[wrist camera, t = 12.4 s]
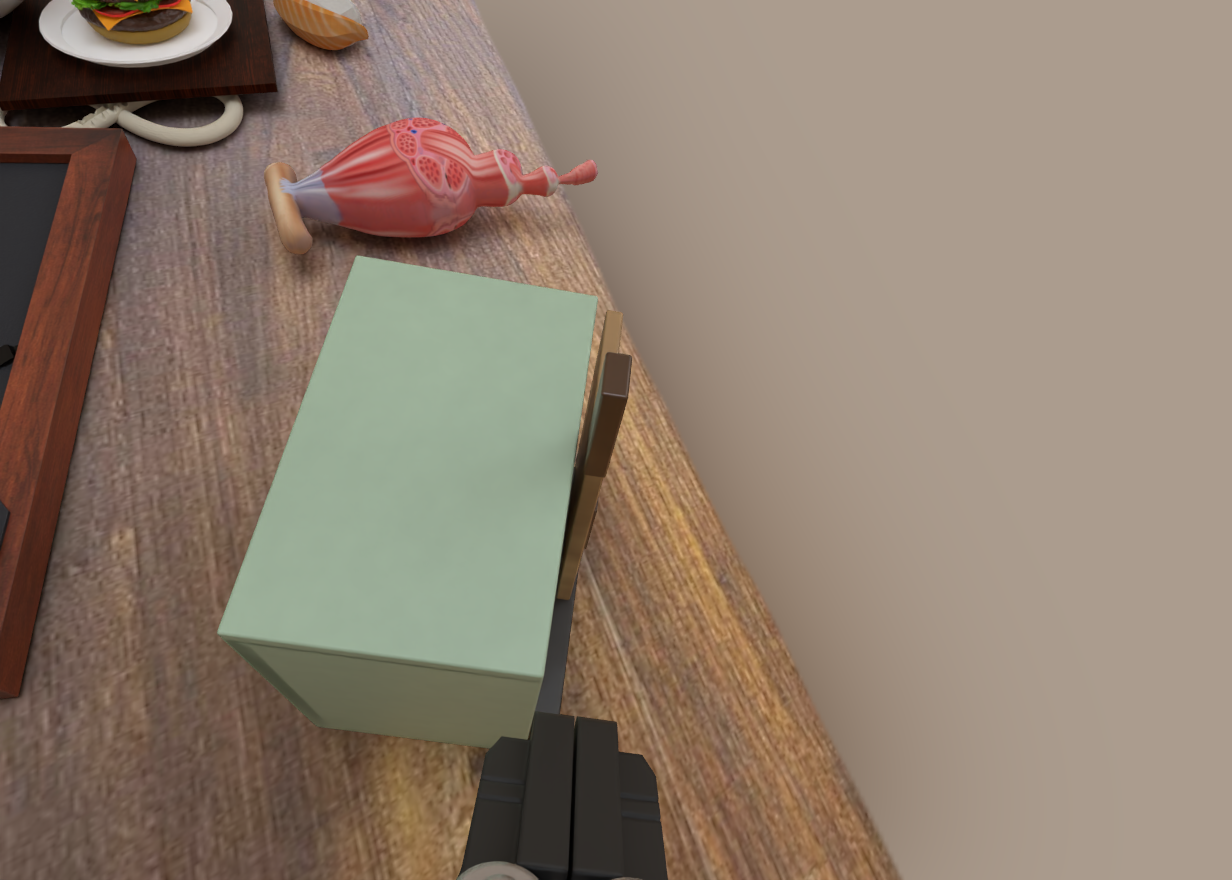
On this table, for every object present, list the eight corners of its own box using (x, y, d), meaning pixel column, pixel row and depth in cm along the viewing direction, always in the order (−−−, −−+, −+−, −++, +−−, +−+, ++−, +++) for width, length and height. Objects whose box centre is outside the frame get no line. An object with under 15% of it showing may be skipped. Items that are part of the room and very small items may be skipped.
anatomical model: (584, 80, 36) (613, 164, 33) (581, 168, 40) (607, 250, 37) (246, 110, 33) (245, 204, 30) (282, 200, 38) (283, 290, 35)
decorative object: (-31, 140, 34) (-15, 71, 37) (-18, 160, 35) (-4, 91, 38) (240, 132, 37) (239, 69, 40) (246, 151, 38) (244, 87, 41)
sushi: (289, -41, 43) (247, -18, 41) (376, 0, 41) (335, 26, 40) (304, 7, 45) (264, 30, 43) (386, 48, 43) (348, 73, 42)
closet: (590, 474, 32) (632, 301, 22) (553, 756, 26) (589, 684, 17) (395, 444, 31) (355, 254, 22) (315, 727, 26) (215, 634, 16)
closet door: (590, 469, 31) (651, 218, 19) (573, 601, 28) (632, 399, 16) (573, 467, 31) (623, 213, 19) (554, 598, 28) (600, 394, 16)
